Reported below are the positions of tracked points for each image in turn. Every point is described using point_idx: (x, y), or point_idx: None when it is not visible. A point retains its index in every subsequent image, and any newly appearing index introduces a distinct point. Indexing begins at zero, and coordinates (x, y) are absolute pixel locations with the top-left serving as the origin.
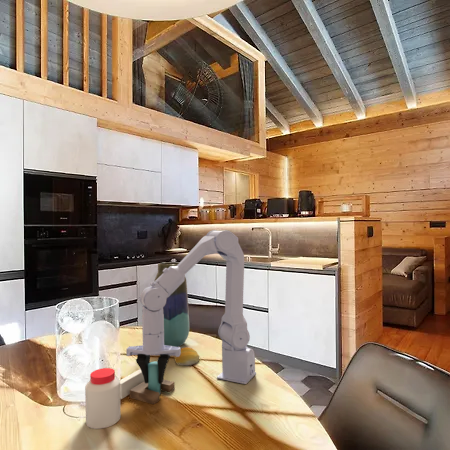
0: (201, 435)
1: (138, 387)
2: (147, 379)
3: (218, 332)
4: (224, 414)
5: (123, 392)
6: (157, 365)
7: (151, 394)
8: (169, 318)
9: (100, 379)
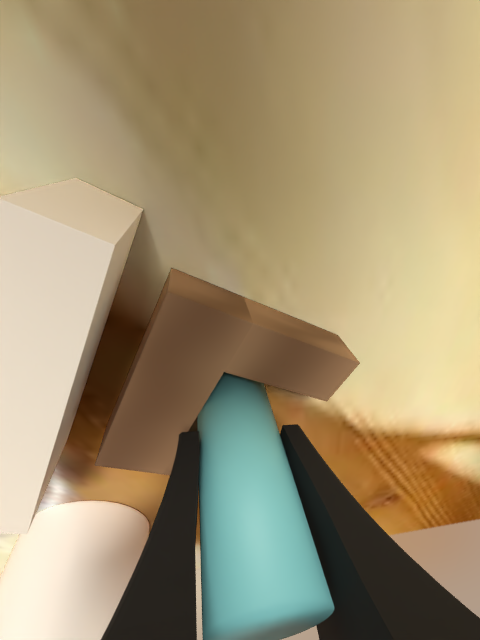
0: (386, 521)
1: (135, 438)
2: (198, 486)
3: None
4: (473, 460)
5: (58, 457)
6: (309, 623)
7: None
8: None
9: None
